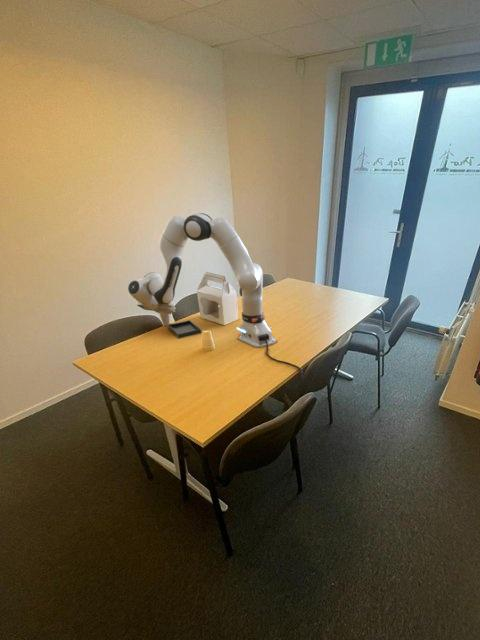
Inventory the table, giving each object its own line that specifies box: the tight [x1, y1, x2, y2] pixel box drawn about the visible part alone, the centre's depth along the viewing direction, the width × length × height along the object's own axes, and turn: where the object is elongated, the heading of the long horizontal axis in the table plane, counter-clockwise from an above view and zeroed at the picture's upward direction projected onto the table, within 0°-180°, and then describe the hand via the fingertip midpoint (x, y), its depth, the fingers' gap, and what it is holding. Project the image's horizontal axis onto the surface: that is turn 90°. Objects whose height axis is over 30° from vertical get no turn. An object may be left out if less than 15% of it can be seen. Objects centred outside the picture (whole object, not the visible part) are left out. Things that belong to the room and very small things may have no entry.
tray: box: [167, 319, 202, 339], centre depth 176 cm, size 17×14×2 cm
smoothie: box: [158, 311, 171, 327], centre depth 179 cm, size 6×6×14 cm
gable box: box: [196, 271, 239, 326], centre depth 186 cm, size 22×13×28 cm, turn 55°
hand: (164, 312), depth 179 cm, fingers closed on smoothie, 6 cm apart
